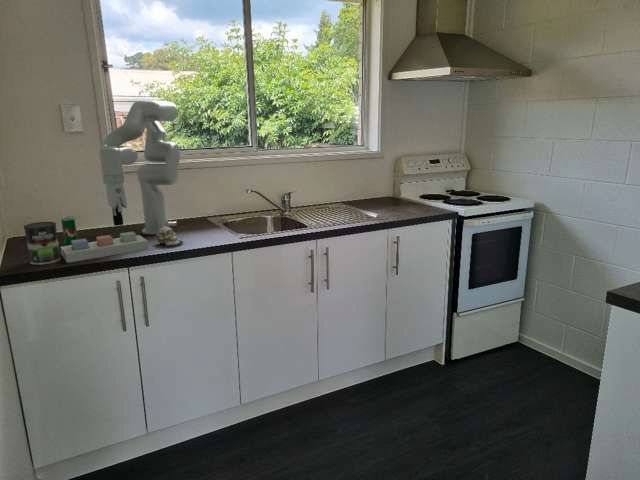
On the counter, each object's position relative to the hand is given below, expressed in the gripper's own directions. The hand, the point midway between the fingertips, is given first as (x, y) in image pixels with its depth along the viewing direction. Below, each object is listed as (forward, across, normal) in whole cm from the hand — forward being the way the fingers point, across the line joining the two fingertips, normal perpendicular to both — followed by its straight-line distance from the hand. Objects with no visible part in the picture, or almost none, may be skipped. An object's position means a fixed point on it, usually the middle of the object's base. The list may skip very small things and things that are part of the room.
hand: (118, 224), depth 186 cm
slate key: (+8, +1, +15) cm, 17 cm away
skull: (+11, -4, -18) cm, 21 cm away
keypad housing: (+10, +1, +6) cm, 12 cm away
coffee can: (+11, +3, +27) cm, 29 cm away
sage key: (+8, 0, -3) cm, 9 cm away
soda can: (+11, +22, +14) cm, 28 cm away
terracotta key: (+8, +1, +6) cm, 10 cm away
